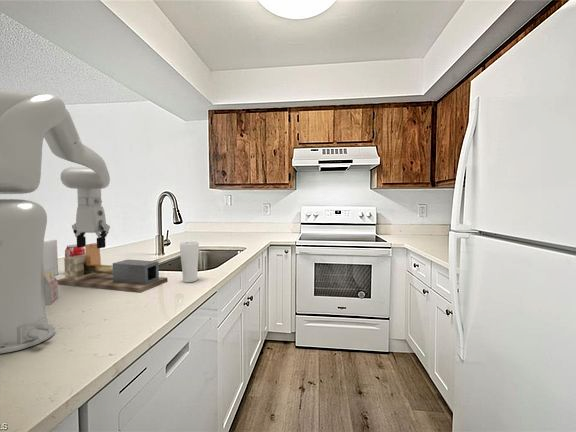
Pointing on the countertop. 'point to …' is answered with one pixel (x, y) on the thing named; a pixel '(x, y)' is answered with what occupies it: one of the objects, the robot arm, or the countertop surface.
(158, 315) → the countertop surface
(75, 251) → the soda can
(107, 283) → the walnut base board
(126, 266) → the galvanized steel sleeve
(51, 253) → the supplement box
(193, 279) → the drinking glass
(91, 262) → the brass tube
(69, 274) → the ash socket block
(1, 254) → the robot arm
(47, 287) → the white angular box
